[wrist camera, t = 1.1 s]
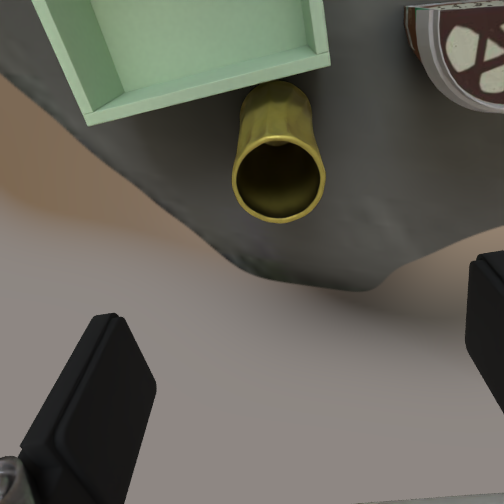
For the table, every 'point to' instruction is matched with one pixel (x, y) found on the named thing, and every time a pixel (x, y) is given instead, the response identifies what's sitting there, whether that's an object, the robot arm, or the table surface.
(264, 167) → the vase
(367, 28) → the table surface
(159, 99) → the tote
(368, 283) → the table surface
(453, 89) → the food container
